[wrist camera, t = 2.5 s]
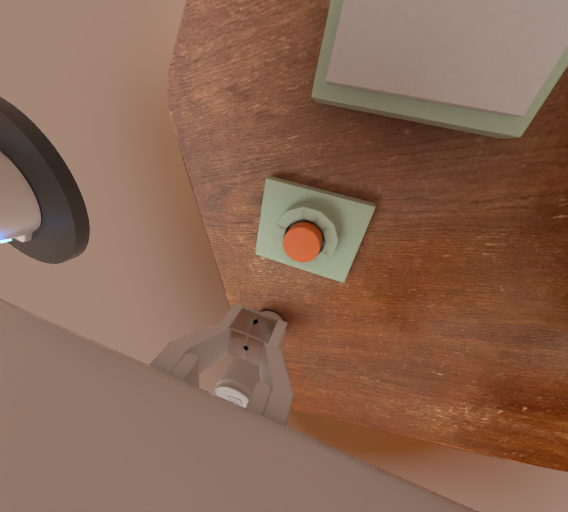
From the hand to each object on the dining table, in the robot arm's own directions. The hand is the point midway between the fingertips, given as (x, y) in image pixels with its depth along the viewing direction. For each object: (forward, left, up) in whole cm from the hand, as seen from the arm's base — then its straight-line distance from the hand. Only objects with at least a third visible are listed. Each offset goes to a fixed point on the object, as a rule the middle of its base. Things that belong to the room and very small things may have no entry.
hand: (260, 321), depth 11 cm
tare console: (0, 0, -15) cm, 15 cm away
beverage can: (-2, -16, -15) cm, 22 cm away
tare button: (0, 0, -12) cm, 12 cm away
